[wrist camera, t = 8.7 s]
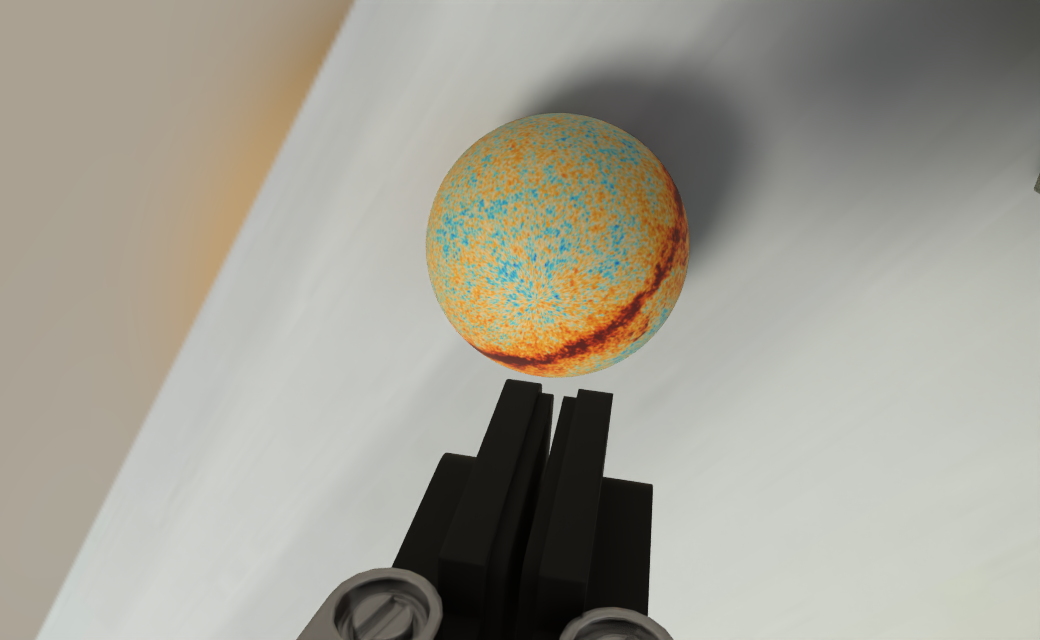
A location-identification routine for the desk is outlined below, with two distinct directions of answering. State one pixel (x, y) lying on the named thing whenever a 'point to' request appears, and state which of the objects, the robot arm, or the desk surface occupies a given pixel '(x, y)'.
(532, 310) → the ball
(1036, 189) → the drawer
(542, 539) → the robot arm
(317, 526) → the desk surface
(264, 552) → the desk surface
